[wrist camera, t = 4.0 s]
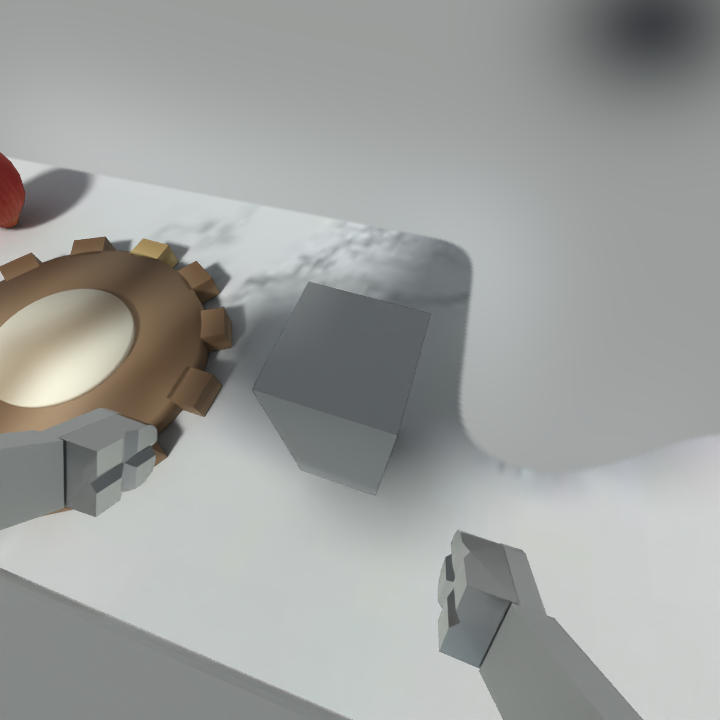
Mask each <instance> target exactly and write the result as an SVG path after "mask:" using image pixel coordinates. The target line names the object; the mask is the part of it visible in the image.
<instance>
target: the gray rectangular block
mask: <svg viewBox="0 0 720 720" xmlns="http://www.w3.org/2000/svg"><path fill="white" fill-rule="evenodd" d="M430 315H431V313H427V312H423V311H419V310H415V309H412V308H408V307H404V306H400V305H396V304H392V303H389V302H385V301H381V300H377V299H373V298H370V297H366V296H362V295H358V294H354V293H351V292H347V291H343V290H339V289H335V288H331V287H328V286H324V285H320V284H316V283H312V282H308V284H307V286H306V287H305V289H304V291H303V293H302V295H301V297H300V299H299V301H298V303H297V305H296V307H295V308H294V310H293V312H292V314H291V316H290V318H289V320H288V322H287V324H286V326H285V328H284V329H283V331H282V333H281V335H280V337H279V339H278V341H277V343H276V345H275V347H274V349H273V350H272V352H271V354H270V356H269V358H268V360H267V362H266V364H265V366H264V368H263V370H262V371H261V373H260V375H259V377H258V379H257V381H256V383H255V385H254V387H253V389H252V391H253V392H254V394H255V395H256V397H257V399H258V400H259V402H260V404H261V405H262V407H263V409H264V410H265V412H266V413H267V415H268V417H269V418H270V420H271V422H272V423H273V425H274V427H275V428H276V430H277V432H278V433H279V435H280V436H281V438H282V440H283V441H284V443H285V445H286V446H287V448H288V450H289V451H290V453H291V454H292V456H293V458H294V459H295V461H296V463H297V464H298V466H299V468H300V469H301V470H302V471H305V472H308V473H311V474H314V475H317V476H320V477H323V478H325V479H328V480H331V481H334V482H337V483H340V484H343V485H346V486H349V487H352V488H355V489H358V490H360V491H363V492H366V493H369V494H372V495H375V494H376V492H377V489H378V486H379V483H380V481H381V478H382V475H383V473H384V470H385V467H386V465H387V462H388V459H389V457H390V454H391V451H392V449H393V446H394V443H395V440H396V438H397V435H398V431H399V428H400V424H401V420H402V417H403V413H404V409H405V406H406V402H407V399H408V395H409V391H410V388H411V384H412V380H413V377H414V373H415V369H416V366H417V362H418V358H419V355H420V351H421V348H422V344H423V340H424V337H425V333H426V329H427V326H428V322H429V318H430Z"/></svg>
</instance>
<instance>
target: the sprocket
mask: <svg viewBox="0 0 720 720" xmlns="http://www.w3.org/2000/svg"><path fill="white" fill-rule="evenodd" d="M177 262H178V260H177V258H176V257H175V255H174V253H173V252H172V250H171V248H170V247H169V245H166V244H162V243H159V242H155V241H151V240H147V239H142V240H141V241H140V243H139V244H138V245H137V246H136V247H135V248H134V249H133V250H132V251H131V252H127V251H116V250H115V248H114V247H113V246H112V244H111V243H110V242H109V241H108V239H107V238H106V237H98V238H90V239H82V240H74V243H73V247H72V251H71V255H67V256H63V257H59V258H55V259H52V260H49V261H46V262H43V263H42V262H41V261H40V260H39V259H38V258H37V257H36V256H35V255H33V254H32V253H29V254H27V255H25V256H23V257H20V258H18V259H16V260H14V261H11V262H9V263H7V264H5V265H2V266H0V271H1V273H2V275H3V277H4V278H5V280H3V281H1V282H0V434H3V433H12V432H20V431H29V430H36V431H39V432H40V431H43V430H45V429H48V428H50V427H53V426H55V425H58V424H60V423H63V422H66V421H68V420H71V419H73V418H76V417H78V416H81V415H83V414H86V413H88V412H91V411H93V410H96V409H98V408H107V409H110V410H113V411H116V412H118V413H121V414H124V415H127V416H130V417H132V418H135V419H138V420H140V421H143V422H146V423H149V424H151V425H153V426H154V427H155V428H156V429H157V436H158V435H159V434H160V433H161V432H162V431H163V430H164V429H165V428H166V427H167V426H168V425H169V424H170V423H171V422H172V421H173V420H174V419H175V418H176V416H177V415H178V414H179V413H180V412H181V411H182V410H185V411H188V412H191V413H194V414H197V415H200V416H203V417H204V416H205V415H206V413H207V411H208V409H209V408H210V406H211V404H212V402H213V401H214V399H215V397H216V395H217V394H218V392H219V390H220V388H221V387H222V385H221V384H220V383H219V381H218V380H217V379H216V377H215V376H214V375H213V374H211V373H208V372H205V371H204V370H205V368H206V365H207V361H208V356H209V352H210V351H214V350H220V349H226V348H232V325H231V320H230V318H229V316H228V314H227V312H226V310H225V308H224V307H221V308H215V309H208V310H205V309H204V307H203V305H202V303H204V302H206V301H208V300H209V299H211V298H213V297H215V296H216V295H218V294H220V293H219V291H218V289H217V287H216V285H215V283H214V281H213V279H212V277H211V276H210V275H209V274H208V273H207V272H206V271H205V270H204V269H203V267H202V266H201V265H200V264H199V263H198V262H197V261H195V262H193V263H191V264H189V265H188V266H186V267H184V268H182V269H180V270H178V271H177V270H175V269H174V268H173V267H174V266H175V265H176V264H177ZM152 448H153V450H154V452H155V454H156V459H155V465H157V464H158V463H160V462H161V461H162V460H164V459H165V458H166V457H167V455H166V454H165V452H164V451H163V449H162V447H161V446H160V444H159V443H158V441H156V442H155V443H154V444H153V445H152ZM155 465H154V466H155ZM68 510H72V509H71V508H69V507H66V506H64V508H63V509H60V510H57V511H54V512H51V513H48V514H45V515H49V514H53V513H58V512H63V511H68ZM43 516H44V515H43Z"/></svg>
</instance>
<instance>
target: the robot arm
mask: <svg viewBox="0 0 720 720" xmlns="http://www.w3.org/2000/svg"><path fill="white" fill-rule="evenodd" d="M156 441H157V429H156V428H155V427H154V426H153V425H151V424H149V423H146V422H143V421H140V420H138V419H135V418H132V417H130V416H127V415H124V414H121V413H118V412H116V411H113V410H110V409H107V408H98V409H96V410H93V411H91V412H88V413H86V414H83V415H81V416H78V417H76V418H73V419H71V420H68V421H66V422H63V423H60V424H58V425H55V426H53V427H50V428H48V429H45V430H43V431H40V432H39V431H36V430H29V431H20V432H12V433H3V434H0V530H2V529H5V528H8V527H11V526H14V525H17V524H20V523H22V522H25V521H28V520H31V519H34V518H37V517H40V516H43V515H45V514H48V513H51V512H54V511H57V510H60V509H63V508H64V506H66V507H69V508H71V509H74V510H77V511H80V512H83V513H86V514H88V515H91V516H94V517H97V516H98V515H100V514H101V513H102V512H104V511H105V510H107V509H108V508H109V507H111V506H112V505H114V504H115V503H116V502H118V501H119V500H120V499H121V496H122V492H125V491H129V490H132V489H136V488H137V487H138V486H140V485H141V484H142V483H143V482H145V480H146V479H147V478H148V476H149V475H150V474H151V472H152V470H153V467H154V465H155V459H156V454H155V452H154V450H153V448H152V445H153V444H154V443H155V442H156ZM451 551H452V554H451V555H449V556H447V557H445V560H444V563H443V565H442V568H441V573H440V577H439V583H438V602H439V604H440V606H441V607H442V612H441V614H440V617H439V619H438V631H439V652H442V653H444V654H447V655H449V656H451V657H454V658H456V659H458V660H461V661H463V662H465V663H468V664H470V665H472V666H475V667H477V668H479V669H480V670H479V672H480V674H481V676H482V678H483V680H484V682H485V684H486V686H487V688H488V690H489V692H490V694H491V696H492V698H493V700H494V702H495V704H496V706H497V708H498V710H499V712H500V714H501V716H502V718H503V720H643V719H642V718H641V717H640V716H639V714H638V713H637V712H636V711H635V710H634V709H633V708H632V706H631V705H630V704H629V703H628V702H627V701H626V700H625V698H624V697H623V696H622V695H621V694H620V693H619V692H618V690H617V689H616V688H615V687H614V686H613V685H612V684H611V682H610V681H609V680H608V679H607V678H606V677H605V676H604V674H603V673H602V672H601V671H600V670H599V669H598V668H597V666H596V665H595V664H594V663H593V662H592V661H591V660H590V658H589V657H588V656H587V655H586V654H585V653H584V652H583V650H582V649H581V648H580V647H579V646H578V645H577V644H576V642H575V641H574V640H573V639H572V638H571V637H570V636H569V634H568V633H567V632H566V631H565V630H564V629H563V628H562V626H561V625H560V624H559V623H558V622H557V621H556V620H555V618H552V617H550V616H547V614H546V611H545V608H544V606H543V603H542V600H541V597H540V594H539V591H538V588H537V585H536V582H535V580H534V577H533V574H532V571H531V568H530V565H529V562H528V559H527V556H526V554H525V553H524V552H523V550H520V549H517V548H514V547H511V546H508V545H504V544H501V543H500V544H499V543H496V542H493V541H490V540H487V539H484V538H481V537H478V536H475V535H472V534H469V533H466V532H463V531H460V530H457V531H456V533H455V534H454V537H453V539H452V542H451ZM0 720H352V719H350V718H347V717H345V716H343V715H340V714H338V713H336V712H333V711H331V710H329V709H326V708H324V707H322V706H319V705H317V704H315V703H312V702H310V701H308V700H305V699H303V698H301V697H298V696H296V695H294V694H291V693H289V692H287V691H284V690H282V689H280V688H277V687H275V686H273V685H270V684H268V683H266V682H263V681H261V680H259V679H256V678H254V677H252V676H249V675H247V674H245V673H242V672H240V671H238V670H235V669H233V668H231V667H228V666H226V665H224V664H222V663H219V662H217V661H215V660H212V659H210V658H208V657H205V656H203V655H201V654H198V653H196V652H194V651H191V650H189V649H187V648H185V647H182V646H180V645H178V644H175V643H173V642H171V641H168V640H166V639H164V638H161V637H159V636H157V635H154V634H152V633H150V632H148V631H145V630H143V629H141V628H138V627H136V626H134V625H131V624H129V623H127V622H124V621H122V620H120V619H117V618H115V617H113V616H111V615H108V614H106V613H104V612H101V611H99V610H97V609H94V608H92V607H90V606H87V605H85V604H83V603H81V602H78V601H76V600H74V599H71V598H69V597H67V596H64V595H62V594H60V593H57V592H55V591H53V590H50V589H48V588H46V587H43V586H41V585H39V584H36V583H34V582H32V581H30V580H27V579H25V578H23V577H20V576H18V575H16V574H13V573H11V572H9V571H6V570H4V569H2V568H0Z"/></svg>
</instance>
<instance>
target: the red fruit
mask: <svg viewBox="0 0 720 720" xmlns="http://www.w3.org/2000/svg"><path fill="white" fill-rule="evenodd" d="M24 201H25V190H24V187H23V184H22V180H21V177H20V174H19V173H18V171H17V170H16V168H15V167H14V166H13V164H12V163H11V161H9V160H8V159H7V158H6V157H5V156H4V155H3V154H2V153H0V227H3V228H11V227H13V226H15V225H17V224H18V221H19V215H20V213H21V210H22V208H23V205H24Z"/></svg>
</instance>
